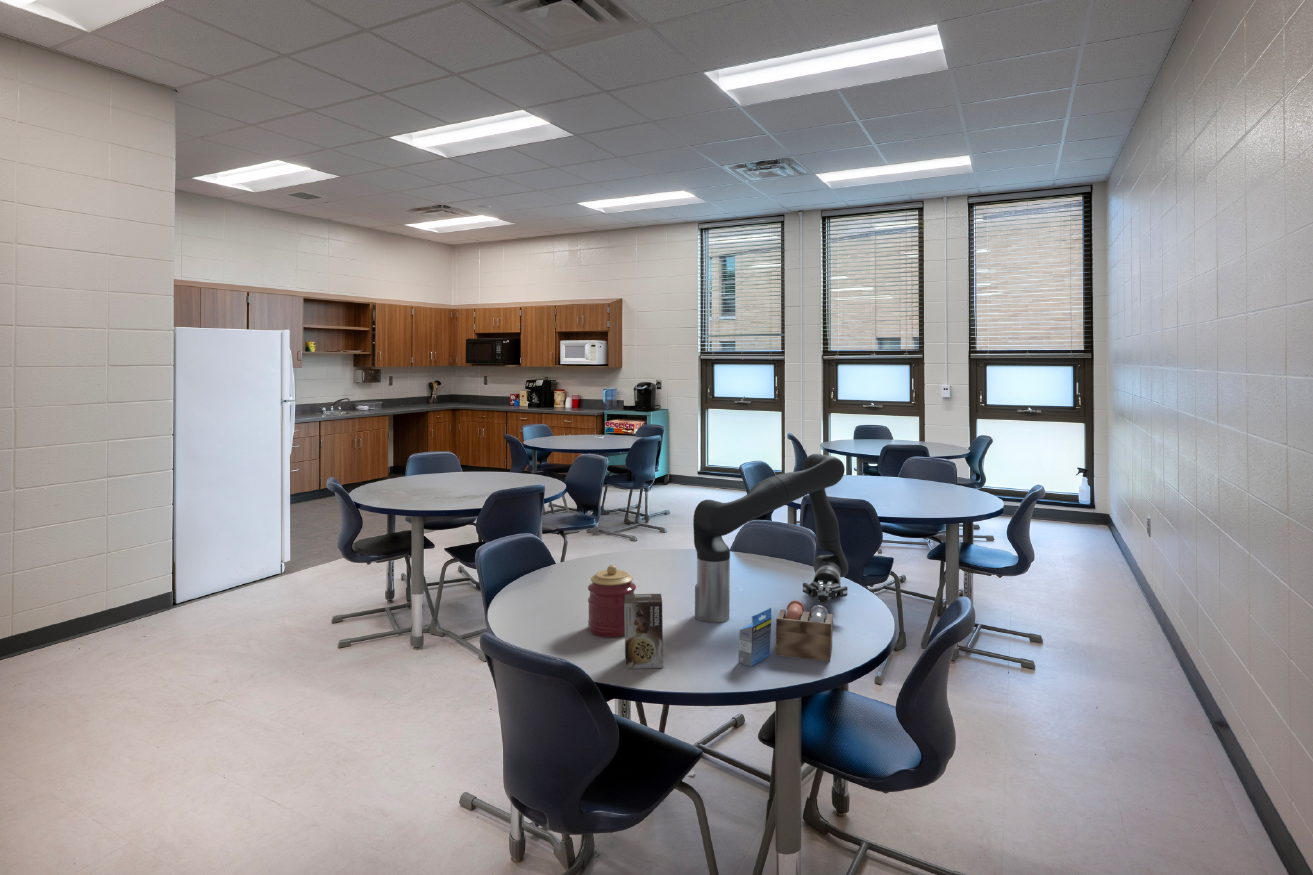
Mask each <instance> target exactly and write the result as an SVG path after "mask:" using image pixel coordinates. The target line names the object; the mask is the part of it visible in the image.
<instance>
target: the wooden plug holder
mask: <svg viewBox="0 0 1313 875" xmlns="http://www.w3.org/2000/svg"><path fill="white" fill-rule="evenodd" d="M786 614H787V609H780V610H779V612H778V615H777V616H776V619H775V656H778V657H779V656H780V657H788V658H797V659H804V660H805V659H806V660H814V661H822V662H823V661H824V662H831V658H832V652H833V632H834V631H833V625H834V624H833V623H834V622H833V621H834V614H833V613H828V614H827V620H826V621H825V623H823V622H813V621H810V618H811V617H810V611H804V612H803V614H802V616H801V619H800V620H792V619H785V617H786Z"/></svg>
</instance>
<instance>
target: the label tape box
mask: <svg viewBox="0 0 1313 875" xmlns="http://www.w3.org/2000/svg"><path fill="white" fill-rule="evenodd" d="M750 617H751V623H750V624H748V625H745V626H744V627H742V628H740V629H739V631H738V632H739V635H738V636H739V637H738V638H739V639H738V657H737V658H738V663H739V664H742V665H744V666H748V667H753V666H754V665H756V664H757V663H759V662H761V661H762V660H764V659H766V658H768V657H769V656H770V655H771V638H772V607H769V608H766V609H764V610H763V611H760V612H759V613H756V614H754V615H751V616H750ZM762 617H763V618H762ZM760 618H762V619H760Z"/></svg>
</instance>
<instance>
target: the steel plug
mask: <svg viewBox="0 0 1313 875" xmlns="http://www.w3.org/2000/svg"><path fill="white" fill-rule="evenodd" d="M809 612H810V621H813V622H823V623H826V620H827V614H829V612H828V609H827V608H826V607H825V606H824V605H820V604H817V605H814V606H812V608H811V609H810V611H809Z"/></svg>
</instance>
